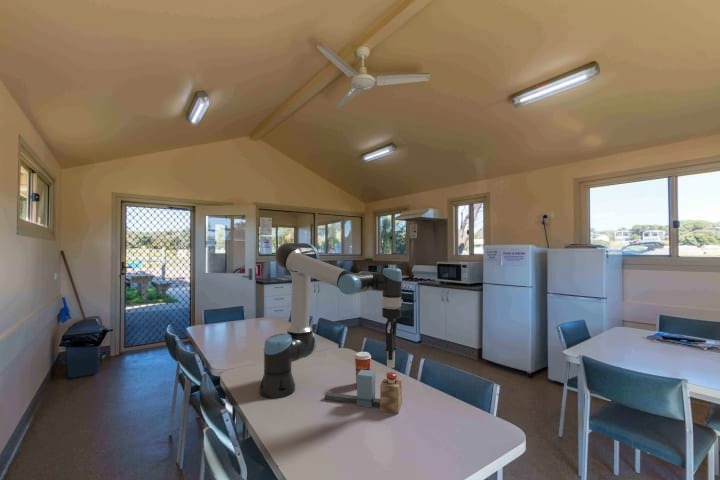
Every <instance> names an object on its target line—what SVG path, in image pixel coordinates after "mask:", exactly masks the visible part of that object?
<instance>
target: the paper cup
mask: <svg viewBox="0 0 720 480" xmlns="http://www.w3.org/2000/svg"><path fill="white" fill-rule="evenodd" d="M371 359H372V355H371V354H370V353H369V352H368V351H358V352H356V353H355V354H354V362H355V363H354V365H355V381H356V382H355V383H356V384H357V374H358V373H359V372H360V370H369V371H371Z"/></svg>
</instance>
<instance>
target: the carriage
mask: <svg viewBox="0 0 720 480" xmlns="http://www.w3.org/2000/svg"><path fill="white" fill-rule="evenodd" d="M356 396H357V404H356V406H357V407H359V406H360V407H366V408H373V406H372V401H373V399H374V398H376V371H375V370H370V371H369V370H360V372H359V373H358V374H357V383H356Z"/></svg>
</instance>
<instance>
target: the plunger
mask: <svg viewBox="0 0 720 480" xmlns="http://www.w3.org/2000/svg"><path fill="white" fill-rule="evenodd" d="M385 374H386V376H385V377H387V378H388V383H391V384H395V379H396V378H398V376H397V375H398V374H397V373H396V372H393V371H392V372H387V373H385Z"/></svg>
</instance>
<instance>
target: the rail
mask: <svg viewBox="0 0 720 480" xmlns="http://www.w3.org/2000/svg"><path fill="white" fill-rule="evenodd" d="M324 401H328V402H329V401H330V402H337V403H344V404H350V405H351V404H352V405H357V395H352V394H345V393H338V392H337V393H336V392H330V391H328V392H326V393H325V394H324ZM373 407H374V408H380V398H376V397H375V398H374V399H373V401H372V408H373Z"/></svg>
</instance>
